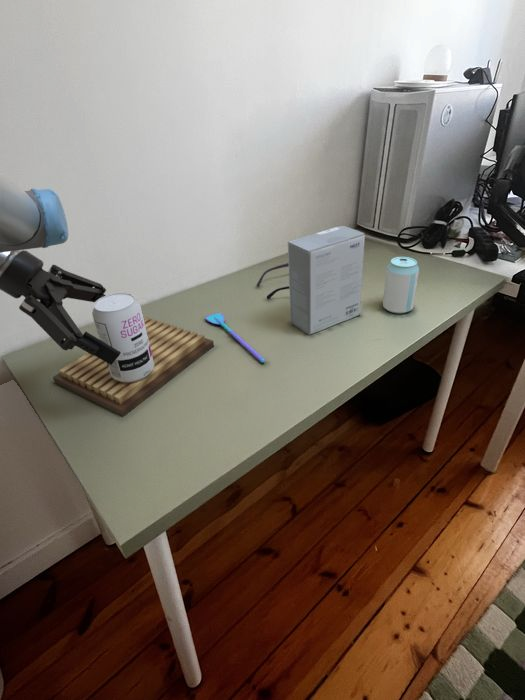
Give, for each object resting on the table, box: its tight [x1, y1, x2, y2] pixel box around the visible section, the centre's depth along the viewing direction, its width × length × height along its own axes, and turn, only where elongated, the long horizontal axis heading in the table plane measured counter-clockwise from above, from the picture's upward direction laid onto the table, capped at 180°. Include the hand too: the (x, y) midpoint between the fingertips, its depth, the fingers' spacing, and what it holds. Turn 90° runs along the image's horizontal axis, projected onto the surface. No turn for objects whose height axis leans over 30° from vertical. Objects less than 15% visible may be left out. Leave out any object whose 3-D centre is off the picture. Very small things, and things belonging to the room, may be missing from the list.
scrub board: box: [52, 316, 215, 417], centre depth 90 cm, size 26×20×3 cm
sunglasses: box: [256, 262, 289, 300], centre depth 116 cm, size 14×16×5 cm
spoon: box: [205, 312, 266, 364], centre depth 97 cm, size 25×4×1 cm, turn 35°
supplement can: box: [91, 292, 154, 383], centre depth 79 cm, size 8×8×15 cm
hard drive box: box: [287, 225, 366, 336], centre depth 97 cm, size 16×8×20 cm, turn 123°
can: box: [382, 256, 420, 315], centre depth 101 cm, size 7×7×12 cm
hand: (123, 337), depth 79 cm, fingers open, 13 cm apart
